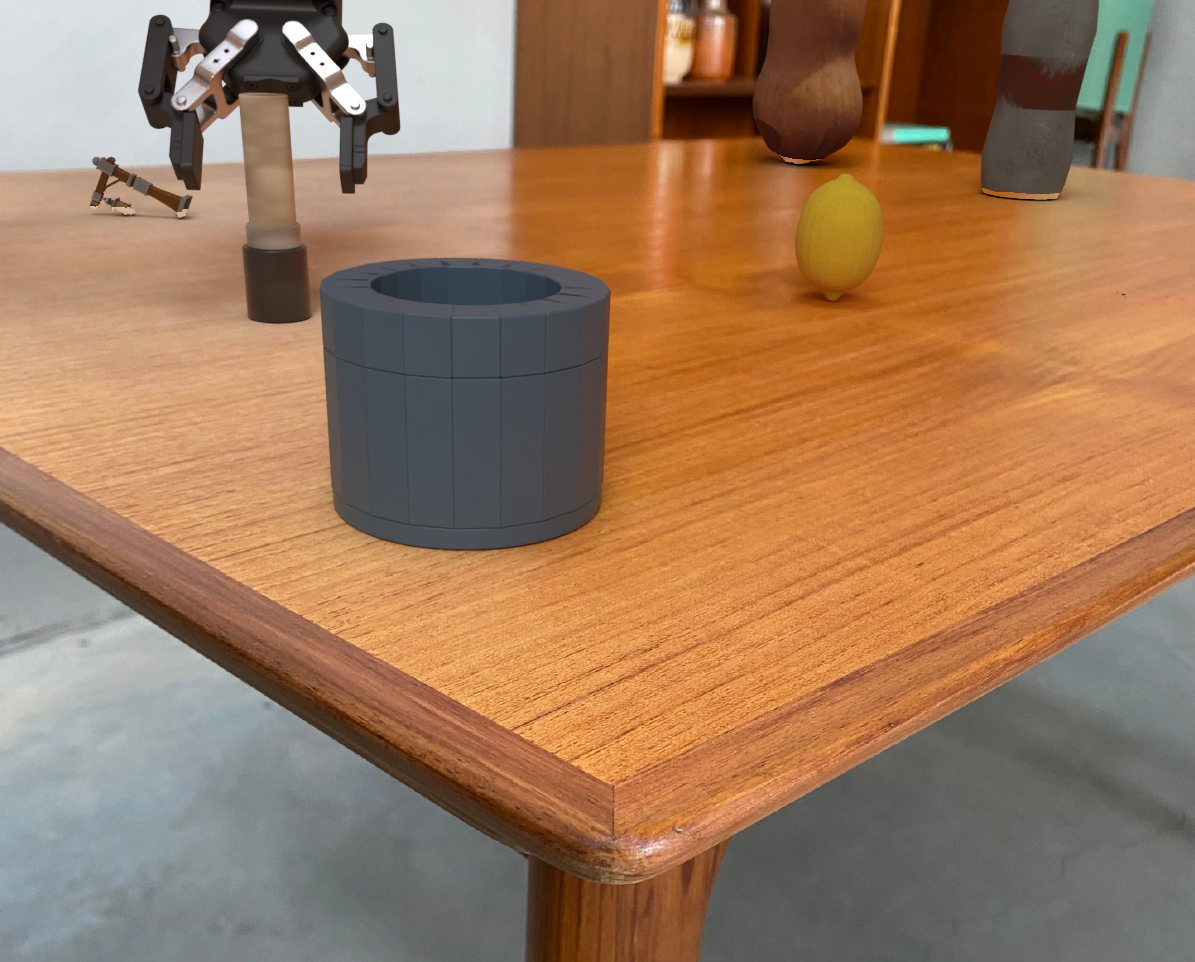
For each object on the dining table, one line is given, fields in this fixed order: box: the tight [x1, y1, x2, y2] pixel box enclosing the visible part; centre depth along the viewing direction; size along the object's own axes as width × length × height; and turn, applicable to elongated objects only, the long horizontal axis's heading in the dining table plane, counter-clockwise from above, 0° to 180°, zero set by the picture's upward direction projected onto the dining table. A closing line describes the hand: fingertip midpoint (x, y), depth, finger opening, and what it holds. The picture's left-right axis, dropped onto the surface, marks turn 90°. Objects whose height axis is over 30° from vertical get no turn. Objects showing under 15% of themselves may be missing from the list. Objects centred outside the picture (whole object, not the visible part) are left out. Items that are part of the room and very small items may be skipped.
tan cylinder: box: [238, 93, 312, 324], centre depth 70 cm, size 4×4×12 cm
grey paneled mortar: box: [319, 257, 612, 551], centre depth 45 cm, size 10×10×8 cm
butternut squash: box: [752, 0, 868, 160], centre depth 152 cm, size 14×13×25 cm
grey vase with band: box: [980, 0, 1100, 194], centre depth 129 cm, size 9×9×30 cm
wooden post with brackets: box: [89, 156, 194, 213], centre depth 102 cm, size 2×8×4 cm, turn 89°
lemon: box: [794, 172, 884, 302], centre depth 80 cm, size 6×6×8 cm
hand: (269, 183), depth 69 cm, fingers open, 8 cm apart
